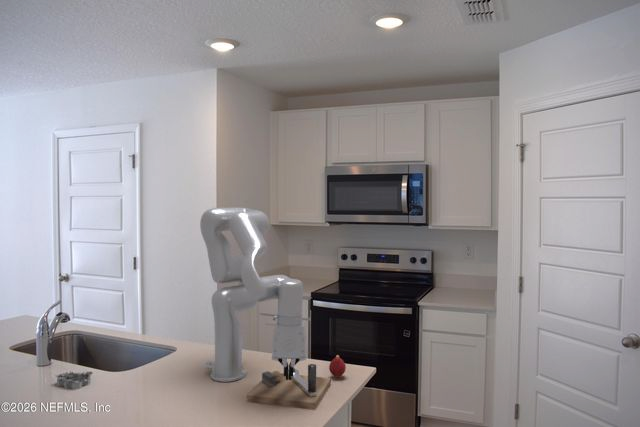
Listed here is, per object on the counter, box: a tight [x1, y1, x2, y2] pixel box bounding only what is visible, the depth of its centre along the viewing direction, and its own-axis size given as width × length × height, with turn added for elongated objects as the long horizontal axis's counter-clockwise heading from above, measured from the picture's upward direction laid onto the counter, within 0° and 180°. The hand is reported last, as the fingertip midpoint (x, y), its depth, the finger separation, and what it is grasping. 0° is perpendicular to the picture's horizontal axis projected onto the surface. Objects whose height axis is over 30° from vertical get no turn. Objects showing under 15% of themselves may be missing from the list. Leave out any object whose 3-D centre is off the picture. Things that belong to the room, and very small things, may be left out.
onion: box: [328, 354, 347, 379], centre depth 164 cm, size 6×6×8 cm
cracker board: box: [246, 370, 332, 410], centre depth 152 cm, size 22×20×6 cm
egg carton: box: [54, 371, 93, 390], centre depth 158 cm, size 11×8×4 cm
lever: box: [288, 363, 317, 397], centre depth 152 cm, size 20×4×9 cm, turn 24°
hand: (288, 378), depth 144 cm, fingers closed
